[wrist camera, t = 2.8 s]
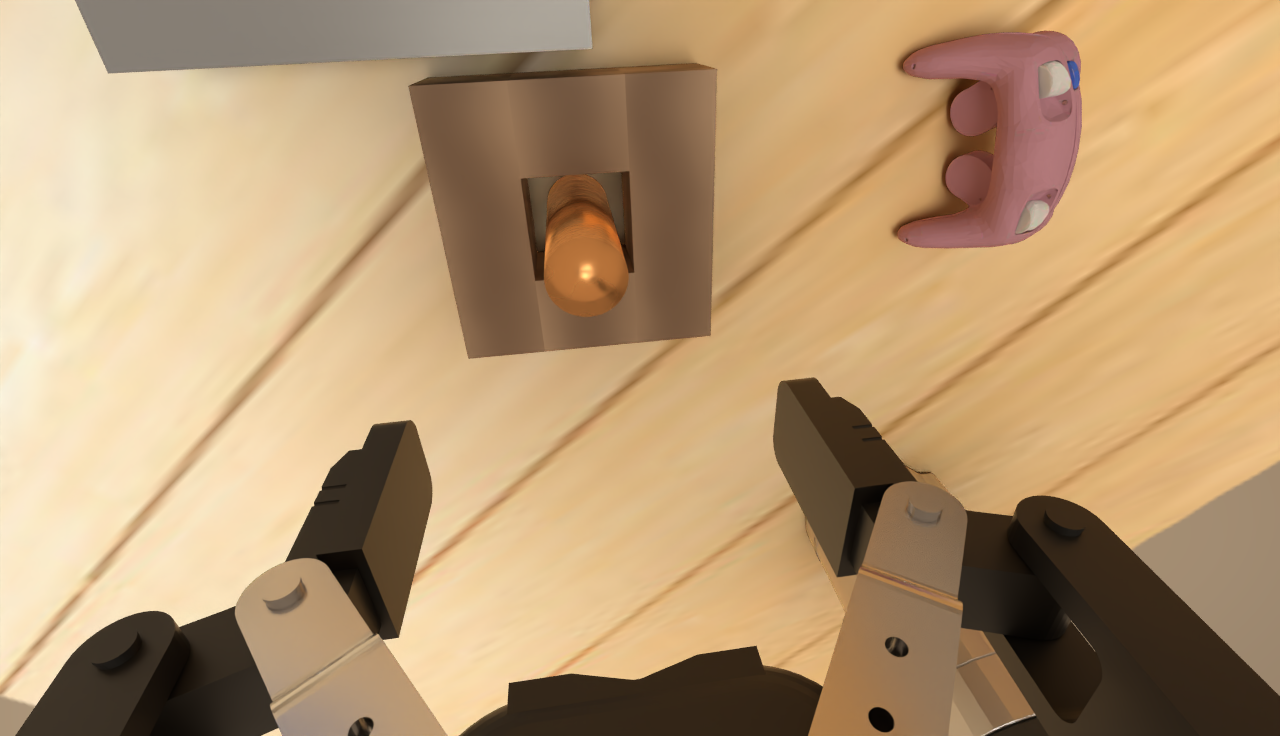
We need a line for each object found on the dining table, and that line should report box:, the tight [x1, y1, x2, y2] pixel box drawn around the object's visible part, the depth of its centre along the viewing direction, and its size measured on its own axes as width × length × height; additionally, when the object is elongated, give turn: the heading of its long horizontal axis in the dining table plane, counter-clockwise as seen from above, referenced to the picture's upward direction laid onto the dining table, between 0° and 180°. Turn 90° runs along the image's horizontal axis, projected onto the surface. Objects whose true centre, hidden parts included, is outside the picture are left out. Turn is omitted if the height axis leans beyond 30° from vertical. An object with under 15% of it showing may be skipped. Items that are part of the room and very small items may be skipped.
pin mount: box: [409, 63, 717, 359], centre depth 28 cm, size 12×12×4 cm
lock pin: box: [544, 174, 629, 317], centre depth 25 cm, size 3×3×10 cm
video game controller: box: [897, 31, 1082, 248], centre depth 28 cm, size 10×5×7 cm, turn 11°
